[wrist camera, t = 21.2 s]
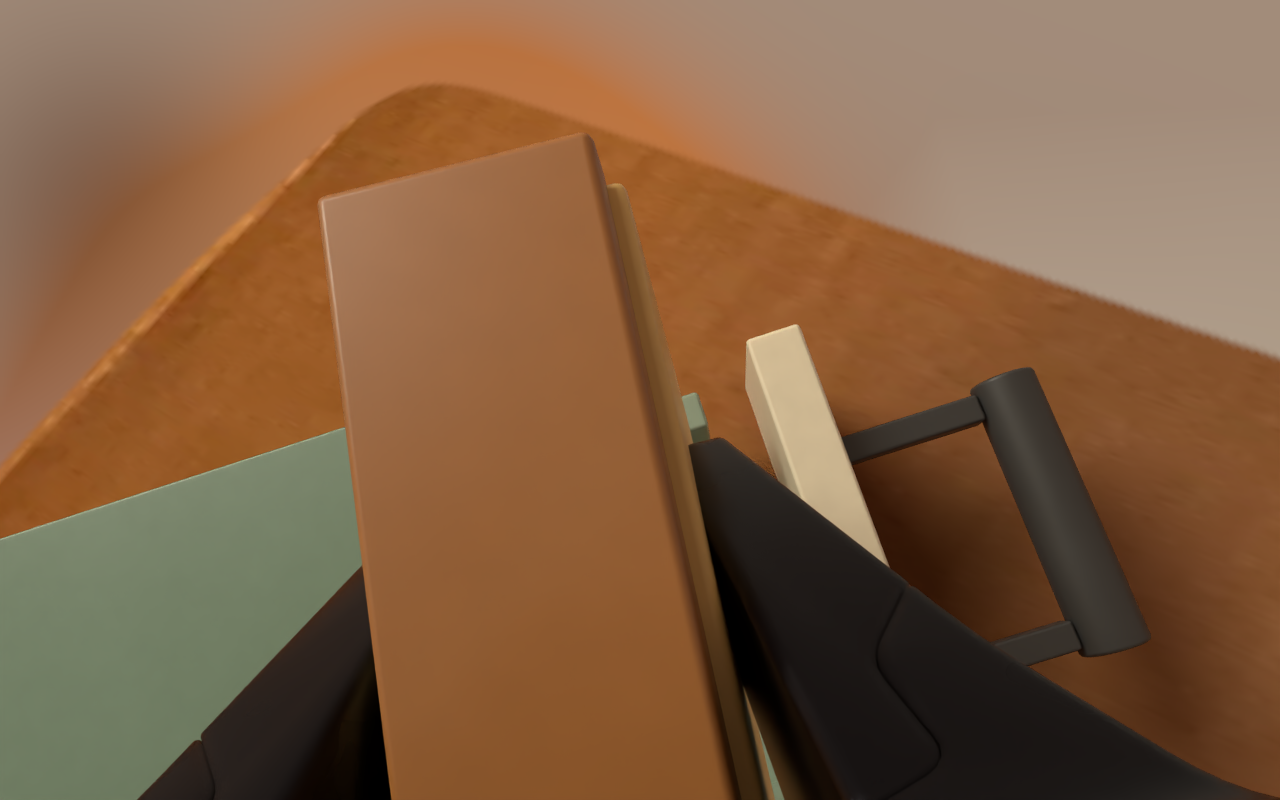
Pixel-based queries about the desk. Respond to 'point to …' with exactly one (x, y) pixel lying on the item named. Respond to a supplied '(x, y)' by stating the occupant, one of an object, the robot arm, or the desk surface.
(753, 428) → the desk surface
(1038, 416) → the drawer
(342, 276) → the tan flat block
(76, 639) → the cabinet
